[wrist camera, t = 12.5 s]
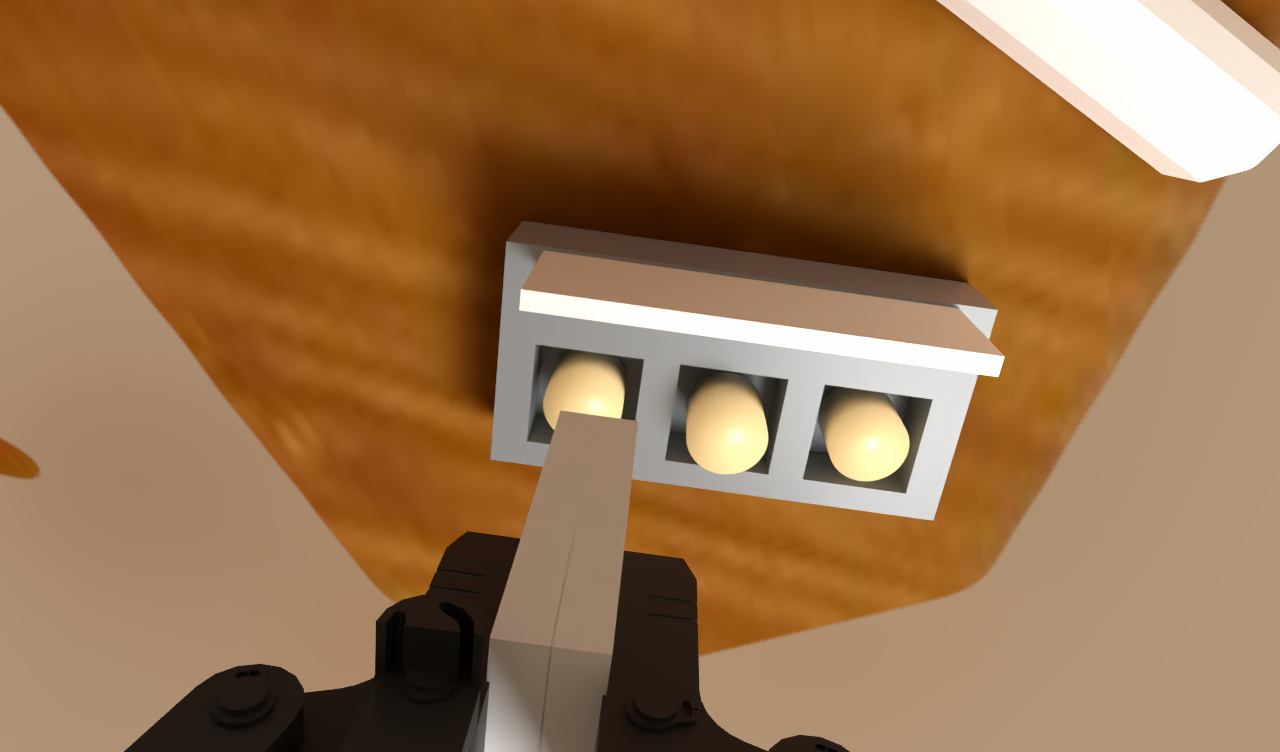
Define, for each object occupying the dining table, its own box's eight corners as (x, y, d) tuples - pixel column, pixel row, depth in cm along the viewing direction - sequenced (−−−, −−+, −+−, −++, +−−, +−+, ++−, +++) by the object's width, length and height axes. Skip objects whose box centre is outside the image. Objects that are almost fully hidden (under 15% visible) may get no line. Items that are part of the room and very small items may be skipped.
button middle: (680, 435, 51) (680, 468, 48) (692, 367, 49) (692, 395, 46) (754, 446, 51) (760, 479, 48) (768, 378, 50) (775, 407, 46)
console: (506, 422, 55) (462, 524, 44) (522, 220, 50) (477, 278, 39) (912, 478, 55) (970, 594, 44) (969, 283, 50) (1049, 358, 39)
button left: (549, 407, 52) (539, 436, 49) (556, 339, 51) (546, 364, 47) (622, 416, 53) (617, 447, 49) (631, 349, 51) (627, 376, 47)
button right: (811, 443, 53) (821, 475, 49) (827, 377, 51) (838, 405, 47) (883, 453, 53) (898, 486, 49) (901, 387, 51) (918, 416, 47)
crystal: (828, -43, 41) (1197, 238, 45) (936, -191, 35) (1345, 145, 39) (853, -101, 45) (1185, 159, 50) (952, -239, 40) (1316, 66, 44)
